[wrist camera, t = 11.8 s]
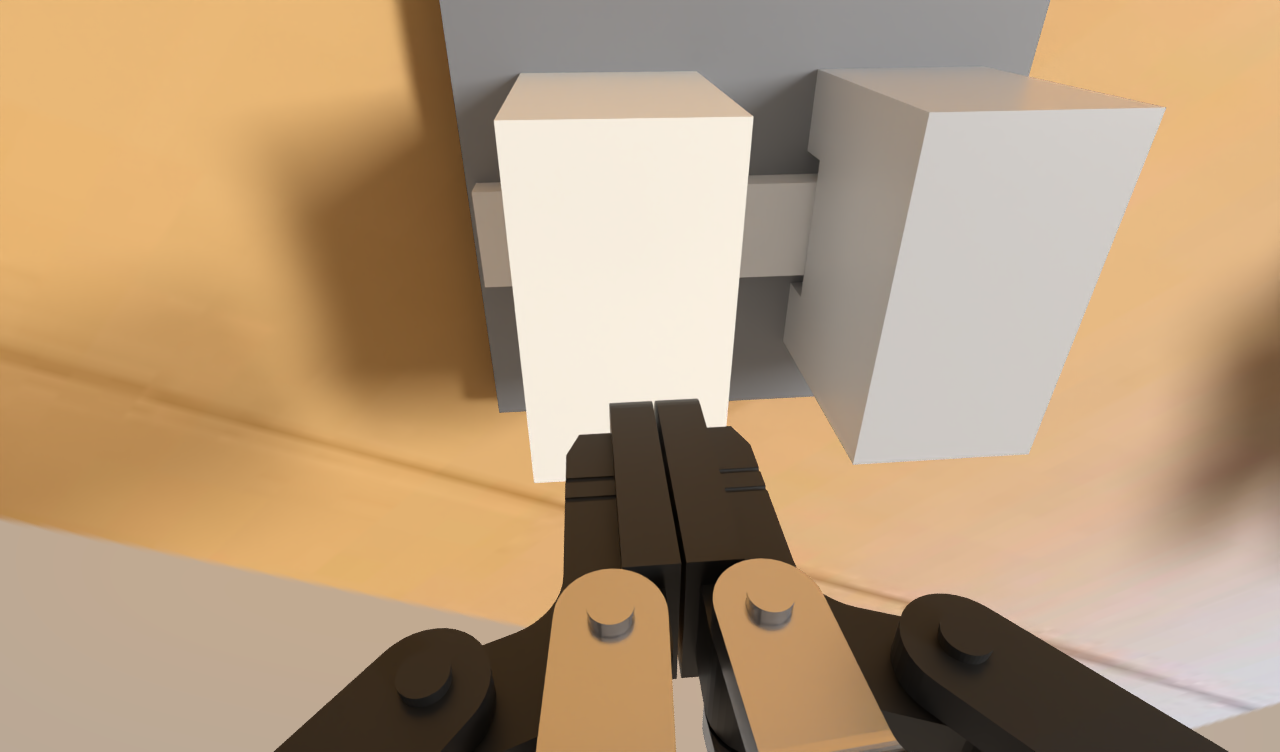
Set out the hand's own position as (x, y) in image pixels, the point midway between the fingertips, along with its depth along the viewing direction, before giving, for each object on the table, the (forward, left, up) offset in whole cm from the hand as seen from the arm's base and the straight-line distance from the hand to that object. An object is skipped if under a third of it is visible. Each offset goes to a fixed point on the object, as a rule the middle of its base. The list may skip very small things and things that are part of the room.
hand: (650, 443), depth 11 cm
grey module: (+8, 0, -11) cm, 14 cm away
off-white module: (0, 0, -11) cm, 11 cm away
